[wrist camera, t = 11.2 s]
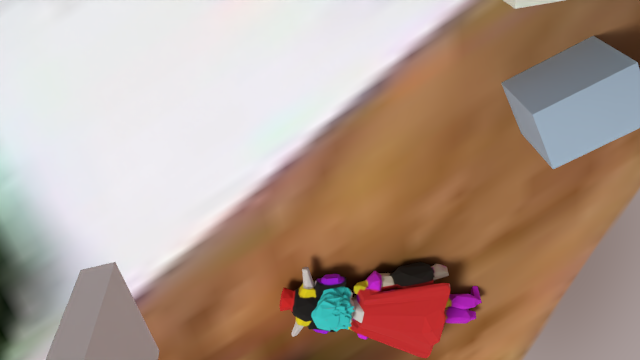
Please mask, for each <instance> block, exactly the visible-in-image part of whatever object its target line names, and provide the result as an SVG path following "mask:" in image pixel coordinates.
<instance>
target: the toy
mask: <svg viewBox="0 0 640 360" xmlns="http://www.w3.org/2000/svg"><path fill="white" fill-rule="evenodd" d="M302 271H303V284H302V285H301V287H299V288H297V289H295V290H294V291H292V290H290V289H287V288H283V291H282V294H281V300H280V311H284V310H291V311H292V313H293V315H294V316H295V317H296V323H295V325H294V328H293V331H292V333H291V334H292V336H293V337H294V336H297V334H298V333H299V332H300V331H301V329H302V328H303V327H304V326H308V328H309V329H313V330H314V331H316V332H319V333H324V334H327V333H328V331H329V332H335V331H336V332H337V331H338V330H340V329H348V330H349V329H350V330H352V331H354V332H356V333H357V334H358V336H359V338H362V339H365V340H366V339H367V338H371V339H374V340H376V341H379V342H381V343H384V344H387V345H389V346H392V347H395V348H397V349H400V350H402V351H405V352H408V353H410V354H413V355H416V356H418V357H422V358H427V357H428V356H429V355H430V354H431V351H432V348H433V345H434V344H436V343H438V342H439V341H440V337H441V334H442V331H443V327H444V324H445V322H446V323H468V322H469V321H471V320H473V319H476V312H475V311H470V310H468V309H469V308H473V307H476V305H478V304H480V303H482V302H481V298H480V294H479V290H478V287H477V286H473V287H472V288H471V295H470V294H450V283H439V284H434V283H433V280H436V279H440V278H443V277H446V276H449V274H448V270H447V267H446V266H444V265H441V264H434V265H433V266H431V267H430V265H429V264H426V263H423V262H419V263H414V264H409V265H404V266H399V267H398V268H397V270H396V271H395V272H394V273H380V274H379V273H378V272H376V271H374V272H373V273H372V274H371V275H370V276H369V277H368V278H367V279H366V280H365V281H362V282H358V283H357V284H356V285H355V286H354V291H353V293H355V294H357V295H356V296H354V297H352V295H353V293H352V291H351V290H350V289H349V288H347V287H344V286H346V277H342V276H340V275H339V274H327V275H324V276H323V277H322V278H318V279H316V281H313V279H312V276H311V274H310V271H309V268H308V267H304V268H302ZM395 288H398V289H397V290H394V289H395ZM448 306H451V307H448Z"/></svg>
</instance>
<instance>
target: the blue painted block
mask: <svg viewBox="0 0 640 360" xmlns="http://www.w3.org/2000/svg"><path fill="white" fill-rule="evenodd" d="M502 86H503V88H504V91H505V94H506V96H507V99H508V101H509V104H510V106H511V109H512V111H513V114H514V116H515V119H516V121H517V124H518V126H519V129H520V131H521V133H522V135H523V136H524V137H525V138H526V139H527V140H528V141H529V142H530V144H531V145H532V146H533V147H534V148H535V149H536V150H537V152H538V153H539V154H540V155H541V156H542V157H543V158H544V159H545V161H546V162H547V163H548V164H549V165H550V166H551V167H552V169H555V168H557V167H559V166H561V165H563V164H565V163H568V162H570V161H572V160H574V159H576V158H578V157H580V156H582V155H584V154H586V153H588V152H591V151H593V150H595V149H597V148H599V147H601V146H603V145H605V144H607V143H609V142H611V141H614V140H616V139H618V138H620V137H622V136H624V135H626V134H628V133H630V132H632V131H634V130H636V129H639V128H640V69H639V66H638V62H636V61H635V60H633V59H631V58H630V57H628V56H626V55H625V54H623V53H621V52H620V51H618V50H616V49H615V48H613V47H611V46H610V45H608V44H606V43H605V42H603V41H601V40H600V39H598V38H596V37H595V36H592V37H590V38H588V39H586V40H584V41H582V42H580V43H578V44H576V45H574V46H572V47H570V48H568V49H566V50H564V51H563V52H561V53H559V54H557V55H555V56H553V57H551V58H549V59H547V60H545V61H543V62H541V63H539V64H537V65H535V66H533V67H531V68H529V69H527V70H525V71H523V72H522V73H520V74H518V75H516V76H514V77H512V78H510V79H508V80H506V81H504V82H502Z"/></svg>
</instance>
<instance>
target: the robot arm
mask: <svg viewBox="0 0 640 360" xmlns="http://www.w3.org/2000/svg"><path fill="white" fill-rule="evenodd" d="M158 355H159V349H158V347H157V345H156V343H155V341H154V339H153V337H152V335H151V333H150V331H149V329H148V327H147V325H146V323H145V321H144V319H143V317H142V315H141V313H140V311H139V309H138V307H137V305H136V303H135V301H134V299H133V297H132V295H131V293H130V291H129V289H128V287H127V285H126V283H125V281H124V279H123V277H122V275H121V273H120V271H119V269H118V267H117V265H116V263H115V262H114V263H109V264H105V265H101V266H96V267H92V268H87V269H83V270H81V271H80V273H79V276H78V279H77V281H76V284H75V286H74V289H73V291H72V294H71V296H70V299H69V302H68V304H67V307H66V309H65V312H64V314H63V317H62V319H61V322H60V325H59V327H58V330H57V332H56V335H55V337H54V340H53V342H52V345H51V348H50V350H49V353H48V355H47V358H46V360H158Z"/></svg>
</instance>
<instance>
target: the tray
mask: <svg viewBox="0 0 640 360" xmlns="http://www.w3.org/2000/svg"><path fill="white" fill-rule="evenodd" d="M503 1H505V2H506V3H508V4H509V5H510V6H512V7H513V8H515V9H516V8H522V7H528V6H534V5H540V4H546V3H552V2H558V1H564V0H503Z"/></svg>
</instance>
